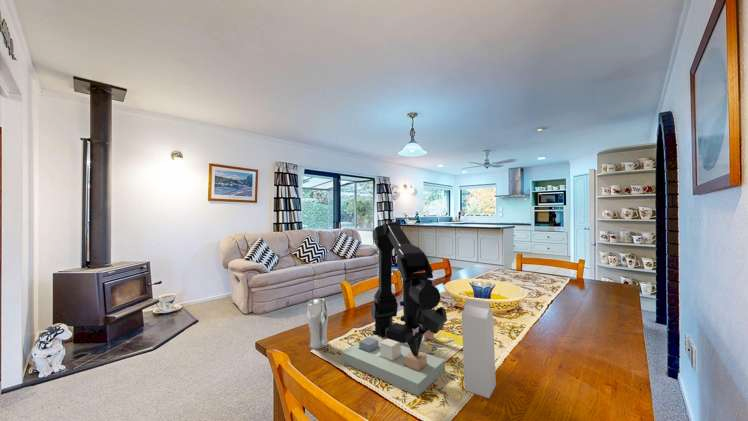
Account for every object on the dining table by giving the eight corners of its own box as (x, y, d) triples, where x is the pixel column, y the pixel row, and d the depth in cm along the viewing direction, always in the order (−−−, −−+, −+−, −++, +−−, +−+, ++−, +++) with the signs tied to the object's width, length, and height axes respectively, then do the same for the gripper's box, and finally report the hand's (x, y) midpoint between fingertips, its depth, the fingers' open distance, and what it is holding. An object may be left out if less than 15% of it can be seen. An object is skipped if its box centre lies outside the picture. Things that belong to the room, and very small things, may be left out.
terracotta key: (413, 366, 82) (413, 350, 82) (427, 371, 79) (426, 354, 79) (405, 372, 78) (404, 356, 78) (418, 378, 76) (418, 361, 76)
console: (371, 344, 98) (371, 335, 98) (445, 370, 81) (444, 359, 81) (341, 361, 88) (341, 351, 88) (418, 396, 70) (418, 383, 70)
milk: (472, 378, 77) (468, 295, 77) (496, 386, 73) (492, 298, 73) (464, 390, 72) (460, 301, 72) (489, 399, 68) (485, 305, 68)
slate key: (368, 350, 93) (368, 336, 93) (378, 354, 90) (378, 340, 90) (359, 356, 89) (359, 341, 90) (369, 360, 87) (369, 345, 87)
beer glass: (324, 350, 95) (323, 304, 95) (305, 349, 97) (303, 304, 97) (332, 341, 102) (330, 298, 102) (313, 339, 103) (311, 297, 103)
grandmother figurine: (440, 339, 100) (439, 302, 100) (437, 344, 97) (436, 306, 97) (418, 336, 104) (417, 300, 104) (415, 340, 100) (414, 303, 100)
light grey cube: (389, 352, 87) (389, 337, 87) (401, 356, 84) (400, 341, 84) (380, 358, 84) (380, 342, 84) (392, 362, 81) (391, 346, 81)
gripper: (421, 313, 66) (423, 382, 66) (456, 294, 81) (458, 350, 81) (383, 304, 74) (385, 366, 74) (421, 288, 88) (423, 339, 88)
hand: (415, 355), depth 79 cm, fingers closed
